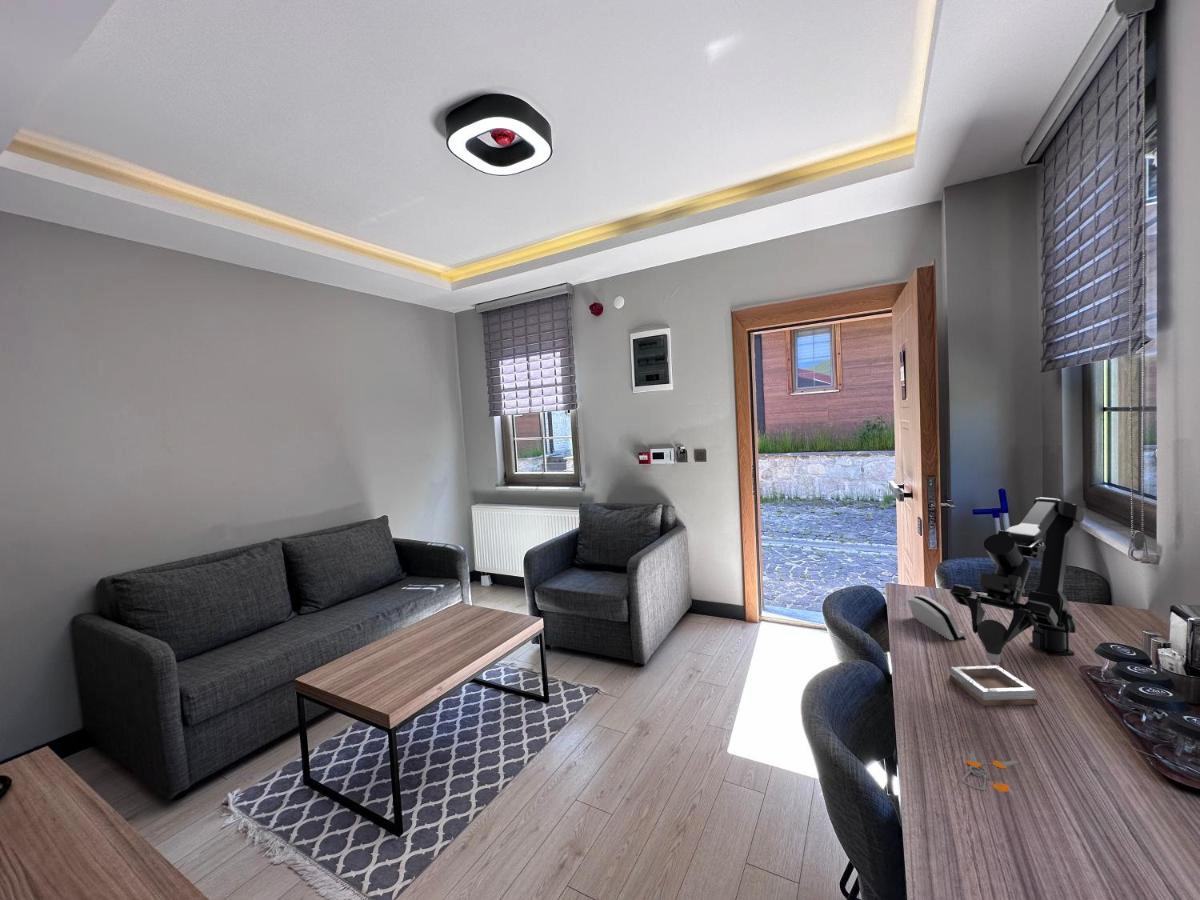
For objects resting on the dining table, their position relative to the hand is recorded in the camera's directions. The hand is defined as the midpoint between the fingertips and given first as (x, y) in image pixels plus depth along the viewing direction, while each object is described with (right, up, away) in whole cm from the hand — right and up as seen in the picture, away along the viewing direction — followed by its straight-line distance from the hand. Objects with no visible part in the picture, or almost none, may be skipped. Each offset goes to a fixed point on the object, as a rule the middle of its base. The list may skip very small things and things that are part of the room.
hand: (989, 636), depth 109 cm
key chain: (-18, -16, -22) cm, 33 cm away
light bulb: (+2, -7, +1) cm, 7 cm away
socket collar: (+2, -13, +2) cm, 13 cm away
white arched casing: (+11, -11, +35) cm, 38 cm away
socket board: (+2, -13, +2) cm, 13 cm away
